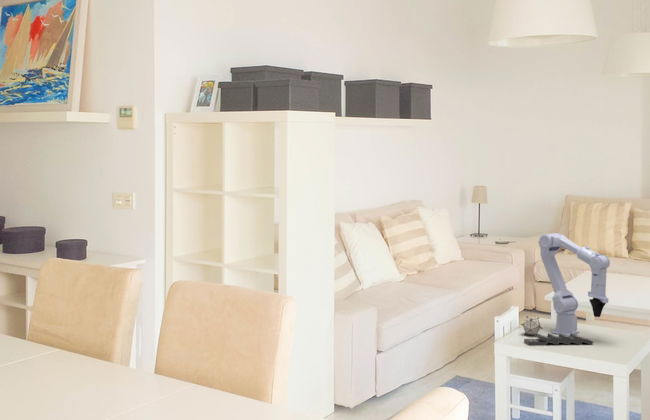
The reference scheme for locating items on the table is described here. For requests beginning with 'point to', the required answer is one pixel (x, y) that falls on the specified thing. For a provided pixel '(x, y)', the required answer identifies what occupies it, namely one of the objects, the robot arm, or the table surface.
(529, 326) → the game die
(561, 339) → the domino
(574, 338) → the domino
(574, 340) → the domino
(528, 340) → the domino
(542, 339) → the domino
